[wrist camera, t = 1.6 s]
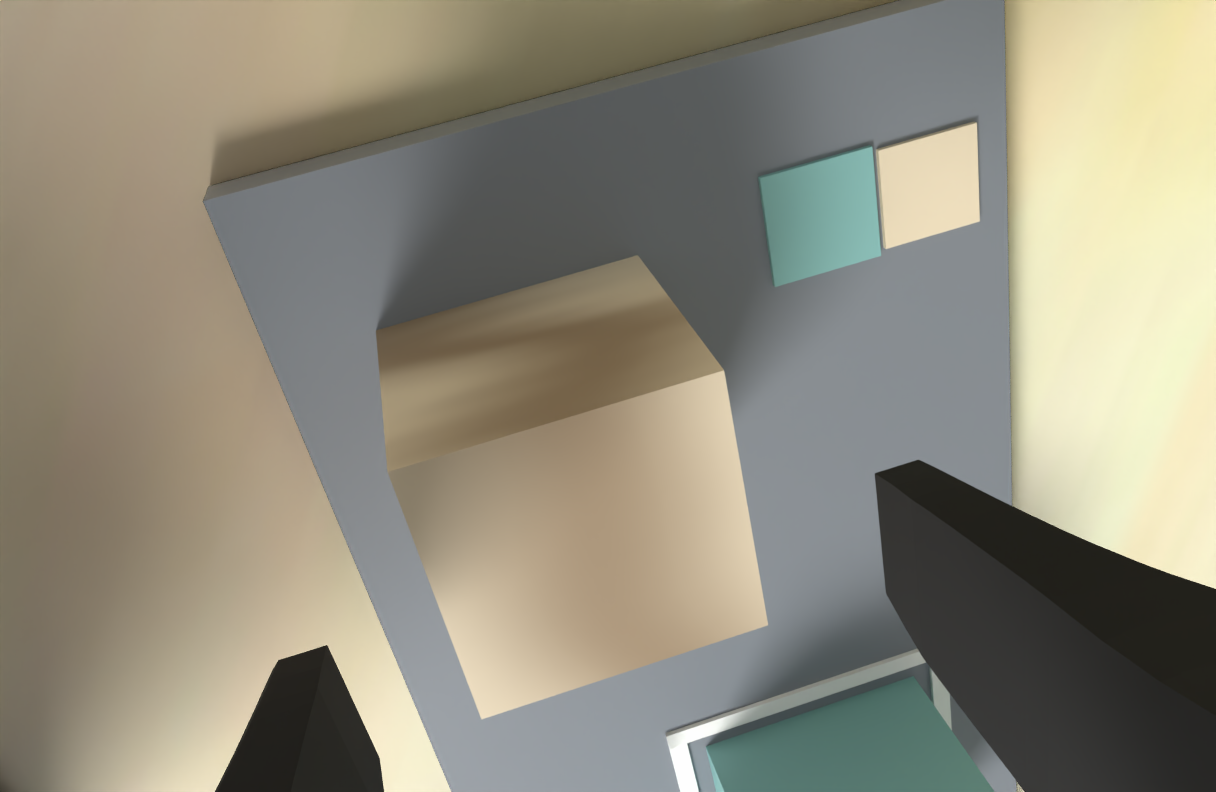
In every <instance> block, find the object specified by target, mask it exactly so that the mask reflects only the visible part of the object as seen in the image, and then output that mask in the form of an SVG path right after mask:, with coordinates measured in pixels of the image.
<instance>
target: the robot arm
mask: <svg viewBox="0 0 1216 792" xmlns="http://www.w3.org/2000/svg"><path fill="white" fill-rule="evenodd" d="M875 483H876V494H877V505H878V515H879V526H880V536H881V547H882V558H883V568H884V579H885V589H886V594H887V596H888V598H889V600H890V602H891V603H892V605H893V607H894V609H895V610H896V612H897V614H898V616H899V618H900V619H901V621H902V623H903V625H904V627H905V628H906V630H907V632H908V633H909V635H910V637H911V639H912V640H913V642H914V644H915V645H916V647H917V649H918V650H919V652H920V654H921V655H922V657H923V659H924V660H925V661H926V663H927V664H928V665H929V667H930V668H931V669H932V671H933V672H934V673H935V675H936V676H937V677H938V679H939V680H940V681H941V683H942V684H943V685H944V687H945V688H946V689H947V691H948V692H949V693H950V695H951V696H952V697H953V699H954V700H955V701H956V703H957V704H958V705H959V707H960V708H961V709H962V710H963V712H964V713H965V714H966V716H967V717H968V718H969V720H970V721H971V722H972V724H973V725H974V726H975V727H976V729H977V730H978V731H979V733H980V734H981V735H982V737H983V738H984V739H985V740H986V742H987V743H988V744H989V746H990V747H991V748H992V750H993V751H994V752H995V753H996V755H997V756H998V757H999V759H1000V760H1001V761H1002V763H1003V764H1004V765H1005V767H1006V768H1007V769H1008V770H1009V772H1010V773H1011V774H1012V776H1013V777H1014V778H1015V780H1016V781H1017V782H1018V784H1019V785H1020V786H1021V787H1022V789H1023V790H1024V791H1025V792H1216V589H1214V588H1211V587H1208V586H1205V585H1202V584H1199V583H1196V582H1193V581H1190V580H1187V579H1184V578H1181V577H1178V576H1175V575H1172V574H1169V573H1166V572H1164V571H1161V570H1158V569H1155V568H1153V567H1150V566H1147V565H1145V564H1142V563H1139V562H1137V561H1134V560H1132V559H1130V558H1127V557H1125V556H1122V555H1120V554H1117V553H1115V552H1112V551H1110V550H1108V549H1105V548H1103V547H1100V546H1098V545H1095V544H1093V543H1091V542H1088V541H1086V540H1084V539H1081V538H1079V537H1077V536H1075V535H1072V534H1070V533H1068V532H1066V531H1063V530H1061V529H1059V528H1057V527H1055V526H1053V525H1050V524H1048V523H1046V522H1044V521H1042V520H1040V519H1038V518H1036V517H1033V516H1031V515H1029V514H1027V513H1025V512H1023V511H1021V510H1019V509H1017V508H1015V507H1013V506H1011V505H1009V504H1007V503H1005V502H1003V501H1001V500H999V499H997V498H995V497H993V496H991V495H989V494H987V493H985V492H983V491H981V490H979V489H977V488H975V487H973V486H971V485H969V484H967V483H965V482H963V481H961V480H959V479H957V478H955V477H953V476H951V475H949V474H947V473H945V472H943V471H941V470H939V469H937V468H935V467H933V466H931V465H929V464H927V463H925V462H923V461H921V460H915V461H912V462H909V463H906V464H903V465H899V466H896V467H893V468H890V469H887V470H884V471H880V472H877V473H875ZM215 792H384V788H383V781H382V773H381V766H380V758H379V756H378V754H377V752H376V750H375V747H374V745H373V743H372V741H371V739H370V737H369V734H368V732H367V730H366V728H365V726H364V724H363V721H362V719H361V717H360V715H359V713H358V711H357V709H356V706H355V704H354V702H353V700H352V698H351V696H350V693H349V691H348V689H347V687H346V685H345V683H344V680H343V678H342V676H341V674H340V672H339V670H338V667H337V665H336V663H335V661H334V659H333V657H332V655H331V652H330V650H329V648H328V646H327V645H326V646H323V647H320V648H316V649H313V650H310V651H307V652H304V653H300V654H297V655H294V656H291V657H288V658H285V659H281V660H278V662H277V664H276V665H275V667H274V669H273V670H272V673H271V675H270V677H269V679H268V681H267V683H266V686H265V688H264V690H263V692H262V694H261V697H260V699H259V701H258V703H257V705H256V708H255V710H254V712H253V714H252V716H251V719H250V721H249V723H248V725H247V727H246V729H245V731H244V734H243V736H242V738H241V740H240V742H239V744H238V746H237V748H236V751H235V753H234V755H233V757H232V759H231V761H230V763H229V765H228V767H227V769H226V771H225V773H224V775H223V777H222V779H221V781H220V783H219V785H218V787H217V789H216V791H215Z"/></svg>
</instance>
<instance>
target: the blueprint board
mask: <svg viewBox="0 0 1216 792" xmlns="http://www.w3.org/2000/svg"><path fill="white" fill-rule="evenodd" d="M203 203H204V205H205V207H206V210H207V212H208V215H209V217H210V219H211V222H212V224H213V226H214V229H215V231H216V234H217V236H218V238H219V241H220V243H221V245H222V248H223V250H224V253H225V255H226V257H227V260H228V262H229V264H230V267H231V269H232V272H233V274H234V276H235V279H236V281H237V283H238V286H239V288H240V291H241V293H242V295H243V298H244V300H245V302H246V305H247V307H248V310H249V312H250V314H251V317H252V319H253V321H254V324H255V326H256V329H257V331H258V333H259V336H260V338H261V340H262V343H263V345H264V348H265V350H266V352H267V355H268V357H269V359H270V362H271V364H272V367H273V369H274V371H275V374H276V376H277V378H278V381H279V383H280V386H281V388H282V390H283V393H284V395H285V397H286V400H287V402H288V405H289V407H290V409H291V412H292V414H293V416H294V419H295V421H296V424H297V426H298V428H299V431H300V433H301V435H302V438H303V440H304V443H305V445H306V447H307V450H308V452H309V454H310V457H311V459H312V462H313V464H314V466H315V469H316V471H317V473H318V476H319V478H320V480H321V483H322V485H323V488H324V490H325V492H326V495H327V497H328V499H329V502H330V504H331V507H332V509H333V511H334V514H335V516H336V518H337V521H338V523H339V526H340V528H341V530H342V533H343V535H344V537H345V540H346V542H347V545H348V547H349V549H350V552H351V554H352V556H353V559H354V561H355V564H356V566H357V568H358V571H359V573H360V575H361V578H362V580H363V583H364V585H365V587H366V590H367V592H368V594H369V597H370V599H371V602H372V604H373V606H374V609H375V611H376V613H377V616H378V618H379V621H380V623H381V625H382V628H383V630H384V632H385V635H386V637H387V640H388V642H389V644H390V647H391V649H392V651H393V654H394V656H395V659H396V661H397V663H398V666H399V668H400V670H401V673H402V675H403V678H404V680H405V682H406V685H407V687H408V689H409V692H410V694H411V697H412V699H413V701H414V704H415V706H416V708H417V711H418V713H419V716H420V718H421V720H422V723H423V725H424V727H425V730H426V732H427V735H428V737H429V739H430V742H431V744H432V746H433V749H434V751H435V754H436V756H437V758H438V761H439V763H440V765H441V768H442V770H443V773H444V775H445V777H446V780H447V782H448V784H449V787H450V789H451V792H1016V780H1015V778H1014V777H1013V776H1012V774H1011V773H1010V772H1009V770H1008V769H1007V768H1006V767H1005V765H1004V764H1003V763H1002V761H1001V760H1000V759H999V757H998V756H997V755H996V753H995V752H994V751H993V750H992V748H991V747H990V746H989V744H988V743H987V742H986V740H985V739H984V738H983V737H982V735H981V734H980V733H979V731H978V730H977V729H976V727H975V726H974V725H973V724H972V722H971V721H970V720H969V718H968V717H967V716H966V714H965V713H964V712H963V710H962V709H961V708H960V707H959V705H958V704H957V703H956V701H955V700H954V699H953V697H952V696H951V695H950V693H949V692H948V691H947V689H946V688H945V687H944V685H943V684H942V683H941V681H940V680H939V679H938V677H937V676H936V675H935V673H934V672H933V671H932V669H931V668H930V667H929V665H928V664H927V663H926V661H925V660H924V659H923V657H922V655H921V654H920V652H919V650H918V649H917V647H916V645H915V644H914V642H913V640H912V639H911V637H910V635H909V633H908V632H907V630H906V628H905V627H904V625H903V623H902V621H901V619H900V618H899V616H898V614H897V612H896V610H895V609H894V607H893V605H892V603H891V602H890V600H889V598H888V596H887V594H886V589H885V579H884V568H883V558H882V547H881V536H880V526H879V515H878V505H877V494H876V483H875V473H877V472H880V471H884V470H887V469H890V468H893V467H896V466H899V465H903V464H906V463H909V462H912V461H915V460H921V461H923V462H925V463H927V464H929V465H931V466H933V467H935V468H937V469H939V470H941V471H943V472H945V473H947V474H949V475H951V476H953V477H955V478H957V479H959V480H961V481H963V482H965V483H967V484H969V485H971V486H973V487H975V488H977V489H979V490H981V491H983V492H985V493H987V494H989V495H991V496H993V497H995V498H997V499H999V500H1001V501H1003V502H1005V503H1007V504H1009V505H1011V506H1012V470H1011V404H1010V338H1009V273H1008V207H1007V141H1006V75H1005V10H1004V0H899V1H895V2H891V3H887V4H884V5H880V6H876V7H873V8H869V9H865V10H861V11H858V12H854V13H850V14H847V15H843V16H839V17H835V18H832V19H828V20H824V21H821V22H817V23H813V24H809V25H806V26H802V27H798V28H795V29H791V30H787V31H783V32H780V33H776V34H772V35H769V36H765V37H761V38H757V39H754V40H750V41H746V42H743V43H739V44H735V45H731V46H728V47H724V48H720V49H717V50H713V51H709V52H706V53H702V54H698V55H694V56H691V57H687V58H683V59H680V60H676V61H672V62H668V63H665V64H661V65H657V66H654V67H650V68H646V69H642V70H639V71H635V72H631V73H628V74H624V75H620V76H616V77H613V78H609V79H605V80H602V81H598V82H594V83H590V84H587V85H583V86H579V87H576V88H572V89H568V90H564V91H561V92H557V93H553V94H550V95H546V96H542V97H538V98H535V99H531V100H527V101H524V102H520V103H516V104H512V105H509V106H505V107H501V108H498V109H494V110H490V111H486V112H483V113H479V114H475V115H472V116H468V117H464V118H460V119H457V120H453V121H449V122H446V123H442V124H438V125H434V126H431V127H427V128H423V129H420V130H416V131H412V132H408V133H405V134H401V135H397V136H394V137H390V138H386V139H382V140H379V141H375V142H371V143H368V144H364V145H360V146H356V147H353V148H349V149H345V150H342V151H338V152H334V153H331V154H327V155H323V156H319V157H316V158H312V159H308V160H305V161H301V162H297V163H293V164H290V165H286V166H282V167H279V168H275V169H271V170H267V171H264V172H260V173H256V174H253V175H249V176H245V177H241V178H238V179H234V180H230V181H227V182H223V183H219V184H215V185H212V186H209V187H208V189H207V192H206V194H205V197H204V200H203ZM636 255H638V256H639V257H640V259H641V260H642V261H643V263H644V264H645V265H646V267H647V268H648V269H649V271H650V272H651V273H652V275H653V276H654V277H655V279H656V280H657V281H658V283H659V284H660V285H661V287H662V288H663V289H664V291H665V292H666V293H667V295H668V296H669V297H670V299H671V300H672V301H673V303H674V304H675V305H676V307H677V308H678V309H679V311H680V312H681V313H682V315H683V316H684V317H685V319H686V320H687V321H688V323H689V324H690V325H691V327H692V328H693V329H694V331H695V332H696V333H697V335H698V336H699V337H700V339H701V340H702V341H703V343H704V344H705V345H706V347H707V348H708V349H709V351H710V352H711V353H712V355H713V356H714V357H715V359H716V360H717V361H718V363H719V364H720V365H721V367H722V368H723V369H724V372H725V378H726V384H727V390H728V395H729V401H730V407H731V413H732V419H733V424H734V430H735V436H736V442H737V448H738V453H739V459H740V465H741V471H742V476H743V482H744V488H745V494H746V500H747V505H748V511H749V517H750V523H751V529H752V534H753V540H754V546H755V552H756V557H757V563H758V569H759V575H760V581H761V586H762V592H763V598H764V604H765V610H766V615H767V621H768V625H767V626H764V627H761V628H758V629H755V630H752V631H749V632H746V633H743V634H740V635H737V636H734V637H731V638H728V639H725V640H722V641H719V642H716V643H713V644H710V645H707V646H704V647H701V648H697V649H694V650H691V651H688V652H685V653H682V654H679V655H676V656H673V657H670V658H667V659H664V660H661V661H658V662H655V663H652V664H649V665H646V666H643V667H640V668H637V669H634V670H631V671H628V672H625V673H622V674H618V675H615V676H612V677H609V678H606V679H603V680H600V681H597V682H594V683H591V684H588V685H585V686H582V687H579V688H576V689H573V690H570V691H567V692H564V693H561V694H558V695H555V696H552V697H549V698H546V699H542V700H539V701H536V702H533V703H530V704H527V705H524V706H521V707H518V708H515V709H512V710H509V711H506V712H503V713H500V714H497V715H494V716H491V717H488V718H485V719H482V720H481V717H480V714H479V712H478V709H477V706H476V704H475V701H474V698H473V696H472V693H471V691H470V688H469V685H468V683H467V680H466V677H465V675H464V672H463V670H462V667H461V664H460V662H459V659H458V656H457V654H456V651H455V648H454V646H453V643H452V641H451V638H450V635H449V633H448V630H447V627H446V625H445V622H444V619H443V617H442V614H441V612H440V609H439V606H438V604H437V601H436V598H435V596H434V593H433V591H432V588H431V585H430V583H429V580H428V577H427V575H426V572H425V569H424V567H423V564H422V562H421V559H420V556H419V554H418V551H417V548H416V546H415V543H414V541H413V538H412V535H411V533H410V530H409V527H408V525H407V522H406V519H405V517H404V514H403V512H402V509H401V506H400V504H399V501H398V498H397V496H396V493H395V491H394V488H393V485H392V483H391V480H390V477H389V475H388V472H387V460H386V448H385V436H384V424H383V412H382V400H381V388H380V376H379V364H378V351H377V339H376V330H379V329H383V328H386V327H390V326H393V325H397V324H400V323H404V322H407V321H411V320H414V319H418V318H421V317H424V316H428V315H431V314H435V313H438V312H442V311H445V310H449V309H452V308H456V307H459V306H463V305H466V304H470V303H473V302H477V301H480V300H484V299H487V298H490V297H494V296H497V295H501V294H504V293H508V292H511V291H515V290H518V289H522V288H525V287H529V286H532V285H536V284H539V283H543V282H546V281H550V280H553V279H557V278H560V277H563V276H567V275H570V274H574V273H577V272H581V271H584V270H588V269H591V268H595V267H598V266H602V265H605V264H609V263H612V262H616V261H619V260H623V259H626V258H629V257H633V256H636Z"/></svg>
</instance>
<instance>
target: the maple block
mask: <svg viewBox="0 0 1216 792" xmlns="http://www.w3.org/2000/svg"><path fill="white" fill-rule="evenodd" d="M376 339H377V351H378V364H379V376H380V388H381V400H382V412H383V424H384V436H385V448H386V460H387V472H388V475H389V477H390V480H391V483H392V485H393V488H394V491H395V493H396V496H397V498H398V501H399V504H400V506H401V509H402V512H403V514H404V517H405V519H406V522H407V525H408V527H409V530H410V533H411V535H412V538H413V541H414V543H415V546H416V548H417V551H418V554H419V556H420V559H421V562H422V564H423V567H424V569H425V572H426V575H427V577H428V580H429V583H430V585H431V588H432V591H433V593H434V596H435V598H436V601H437V604H438V606H439V609H440V612H441V614H442V617H443V619H444V622H445V625H446V627H447V630H448V633H449V635H450V638H451V641H452V643H453V646H454V648H455V651H456V654H457V656H458V659H459V662H460V664H461V667H462V670H463V672H464V675H465V677H466V680H467V683H468V685H469V688H470V691H471V693H472V696H473V698H474V701H475V704H476V706H477V709H478V712H479V714H480V717H481V720H482V719H485V718H488V717H491V716H494V715H497V714H500V713H503V712H506V711H509V710H512V709H515V708H518V707H521V706H524V705H527V704H530V703H533V702H536V701H539V700H542V699H546V698H549V697H552V696H555V695H558V694H561V693H564V692H567V691H570V690H573V689H576V688H579V687H582V686H585V685H588V684H591V683H594V682H597V681H600V680H603V679H606V678H609V677H612V676H615V675H618V674H622V673H625V672H628V671H631V670H634V669H637V668H640V667H643V666H646V665H649V664H652V663H655V662H658V661H661V660H664V659H667V658H670V657H673V656H676V655H679V654H682V653H685V652H688V651H691V650H694V649H697V648H701V647H704V646H707V645H710V644H713V643H716V642H719V641H722V640H725V639H728V638H731V637H734V636H737V635H740V634H743V633H746V632H749V631H752V630H755V629H758V628H761V627H764V626H767V625H768V621H767V615H766V610H765V604H764V598H763V592H762V586H761V581H760V575H759V569H758V563H757V557H756V552H755V546H754V540H753V534H752V529H751V523H750V517H749V511H748V505H747V500H746V494H745V488H744V482H743V476H742V471H741V465H740V459H739V453H738V448H737V442H736V436H735V430H734V424H733V419H732V413H731V407H730V401H729V395H728V390H727V384H726V378H725V372H724V369H723V368H722V367H721V365H720V364H719V363H718V361H717V360H716V359H715V357H714V356H713V355H712V353H711V352H710V351H709V349H708V348H707V347H706V345H705V344H704V343H703V341H702V340H701V339H700V337H699V336H698V335H697V333H696V332H695V331H694V329H693V328H692V327H691V325H690V324H689V323H688V321H687V320H686V319H685V317H684V316H683V315H682V313H681V312H680V311H679V309H678V308H677V307H676V305H675V304H674V303H673V301H672V300H671V299H670V297H669V296H668V295H667V293H666V292H665V291H664V289H663V288H662V287H661V285H660V284H659V283H658V281H657V280H656V279H655V277H654V276H653V275H652V273H651V272H650V271H649V269H648V268H647V267H646V265H645V264H644V263H643V261H642V260H641V259H640V257H639V256H638V255H636V256H633V257H629V258H626V259H623V260H619V261H616V262H612V263H609V264H605V265H602V266H598V267H595V268H591V269H588V270H584V271H581V272H577V273H574V274H570V275H567V276H563V277H560V278H557V279H553V280H550V281H546V282H543V283H539V284H536V285H532V286H529V287H525V288H522V289H518V290H515V291H511V292H508V293H504V294H501V295H497V296H494V297H490V298H487V299H484V300H480V301H477V302H473V303H470V304H466V305H463V306H459V307H456V308H452V309H449V310H445V311H442V312H438V313H435V314H431V315H428V316H424V317H421V318H418V319H414V320H411V321H407V322H404V323H400V324H397V325H393V326H390V327H386V328H383V329H379V330H376Z"/></svg>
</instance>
